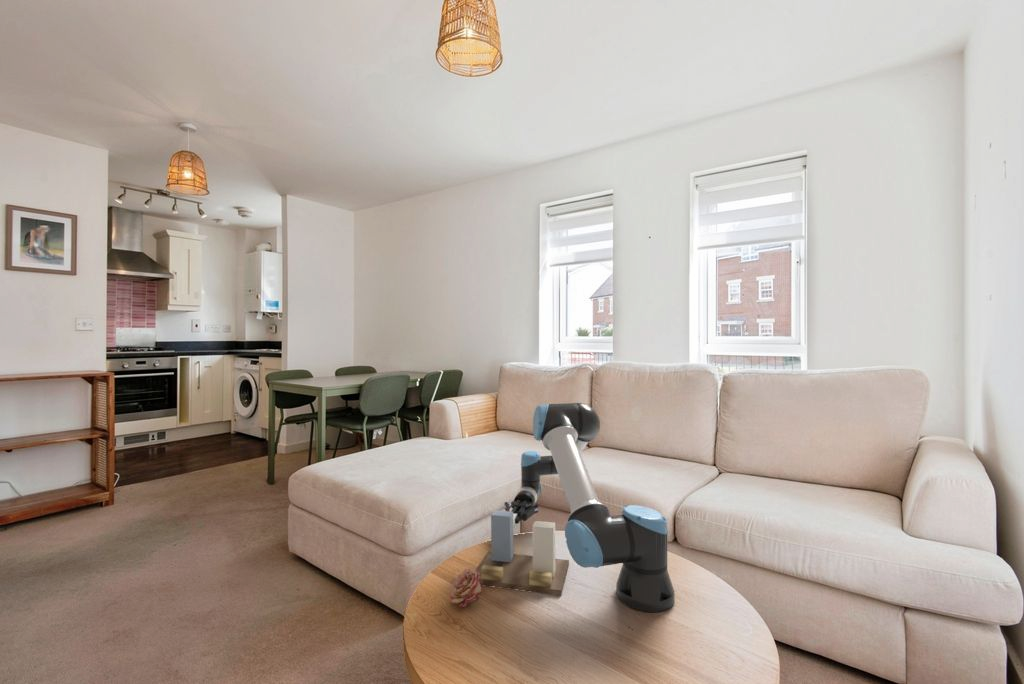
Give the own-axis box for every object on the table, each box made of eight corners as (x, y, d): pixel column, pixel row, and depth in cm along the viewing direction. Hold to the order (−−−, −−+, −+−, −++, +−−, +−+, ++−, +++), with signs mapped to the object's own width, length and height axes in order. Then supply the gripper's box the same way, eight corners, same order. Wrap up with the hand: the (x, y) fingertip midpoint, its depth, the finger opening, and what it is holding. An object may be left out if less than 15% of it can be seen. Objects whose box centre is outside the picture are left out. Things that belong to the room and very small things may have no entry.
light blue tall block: (513, 556, 143) (513, 511, 142) (510, 562, 139) (510, 516, 138) (495, 553, 144) (494, 509, 144) (491, 560, 140) (491, 515, 140)
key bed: (568, 565, 140) (568, 550, 140) (561, 595, 124) (561, 579, 124) (487, 555, 147) (487, 542, 146) (470, 584, 130) (470, 568, 130)
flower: (478, 581, 128) (462, 562, 126) (498, 587, 121) (481, 567, 119) (457, 613, 123) (439, 593, 121) (476, 622, 116) (458, 601, 114)
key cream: (555, 569, 134) (555, 522, 134) (553, 577, 130) (553, 528, 130) (535, 567, 135) (535, 520, 135) (532, 574, 131) (532, 526, 131)
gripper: (542, 511, 172) (529, 538, 150) (509, 508, 176) (491, 534, 153) (542, 491, 172) (529, 515, 149) (508, 488, 175) (491, 512, 153)
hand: (510, 525), depth 151 cm, fingers closed
